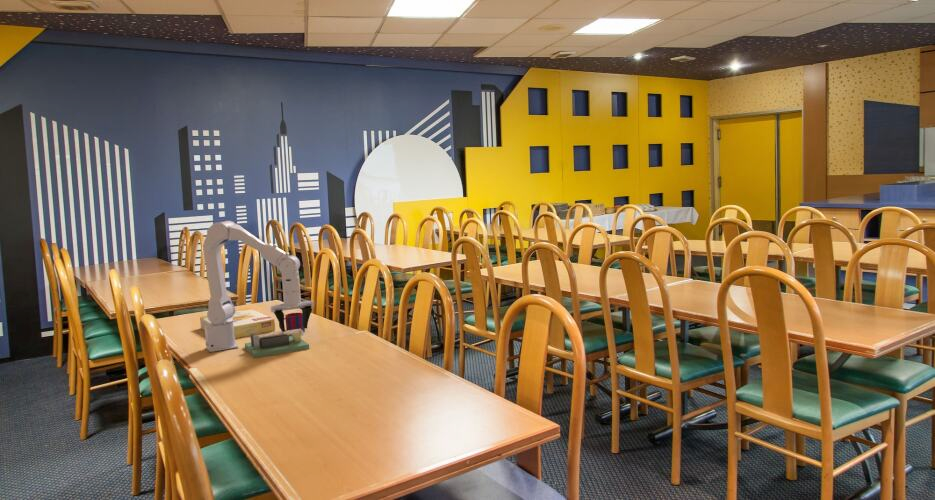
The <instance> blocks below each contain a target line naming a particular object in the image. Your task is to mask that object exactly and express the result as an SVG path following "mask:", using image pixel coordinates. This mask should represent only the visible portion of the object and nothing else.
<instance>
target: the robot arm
mask: <svg viewBox="0 0 935 500" xmlns="http://www.w3.org/2000/svg"><path fill="white" fill-rule="evenodd" d="M206 232H207V233H206V236H205V238H204V241H203V244H202V251H203V256H204V263H205V268H206V275H207V281H208V287H209V294H210V297H209V301H208V303H207V305H208V306H207V307H208V310H207V313H206V316H207V317H208V319H209V321H210V322H211V324H209V325H205V330H204V334H205V335H204V336H205V347H206V349H207V351H208V352H210V353H213V352H218V351H224V350H231V349H235V348H239V345H238V344H237V343H236V338H235V336H234V324H233V318H232V316H233V315H234V313H235V310H236V307H235V305H234V304H233V302H232V299H231V296H230V295H229V294H228V293H227V292H228V291H227V285H226V278H225V272H224V267H223V260H222V254H221V249H222V247H224V245H225V244H226V243H227V242H229V241H240V242H242V243H243V244H245V245H247V246H248V247H251V248H252V249H254V250H256V251H258V252H259V253H260V256H261V258H263V260H265V261H267V262H268V263H271V264H272V265H273V266H274V267H276V268H278V270H279V271H280V273H281V282H282V295H283V297H282V298H283V303H280V304H274V305H271V306H270V312H271V313H273V314H274V315H275V318H276V319H277V321H278V325H279V324H280V326H281V329H280V330H281V331H282V332H285V330H286V325H285V319H284V318H285V313H284V311H289V310H296V309H301V313H302V314H303V327H304V328H305V329H308V323H309V319H310V317H311V314H312V312H313V308H314V307H315V301H314V300H306V301H305V300H303V301H302V300H301V298H302V297H301V285H300V284H301V283H300V274H299V273H300V272H299V269H300V267H301V262H300V259H299V258H298V257H297V256H296V255H294V254H290V252H288V251H284V250H282V249H281V248H279V247H278V246H279V245H278V244H276V243H271V242H270V243H265V242H264V241H262V240H261V239H260V238H258V237H256V236H255V235H253V234H252V233H251V232H249V231H248V230H246V229H244V227H243V226H241V225H240V224H237V223H235V222H234V221H232V220H225V221H220V222H215V223H213V224H211V225H210V226H209V228H207V230H206ZM281 331H280V332H281Z"/></svg>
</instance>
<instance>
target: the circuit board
mask: <svg viewBox="0 0 935 500" xmlns="http://www.w3.org/2000/svg"><path fill="white" fill-rule="evenodd" d="M288 336H289V342H290V345H285V346H278V347H272V348H266V349H262V348H261V347H260V349H256V350H255V349H254V346H251V341H250V342H245V343H244V348H245V350H247V351H248V353H249V354H250V355H251V356H252V357H253V358H254V359H258V358H263V357H269V356H275V355H280V354H286V353H292V352H299V351H303V350H309V349H310V343H308V342H306V341H305V340H304V339H302V338H301V341H300V342H295V341H293V340H292V335H288Z"/></svg>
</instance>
